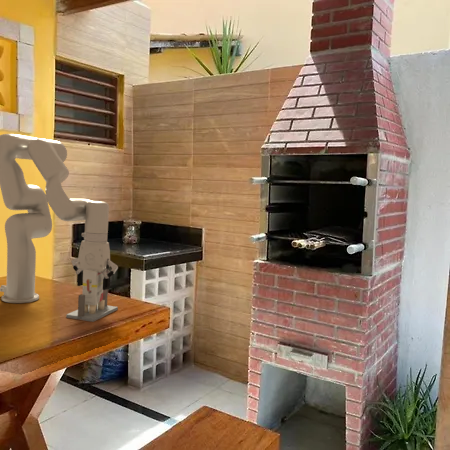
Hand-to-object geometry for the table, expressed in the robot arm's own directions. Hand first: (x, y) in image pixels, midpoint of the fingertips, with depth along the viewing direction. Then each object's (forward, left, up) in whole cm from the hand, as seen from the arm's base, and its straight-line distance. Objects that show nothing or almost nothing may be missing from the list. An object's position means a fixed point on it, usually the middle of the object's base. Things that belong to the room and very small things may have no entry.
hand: (93, 287), depth 158 cm
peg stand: (0, 0, -9) cm, 9 cm away
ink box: (0, 0, -5) cm, 5 cm away
